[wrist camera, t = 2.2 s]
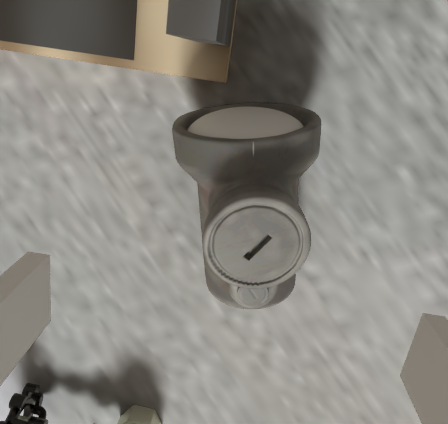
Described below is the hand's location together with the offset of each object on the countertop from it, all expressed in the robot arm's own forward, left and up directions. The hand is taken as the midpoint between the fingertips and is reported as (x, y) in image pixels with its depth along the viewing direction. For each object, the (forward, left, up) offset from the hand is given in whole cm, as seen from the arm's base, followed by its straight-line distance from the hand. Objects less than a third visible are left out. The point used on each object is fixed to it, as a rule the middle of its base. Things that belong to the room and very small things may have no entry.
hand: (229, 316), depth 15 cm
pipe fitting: (0, 0, -15) cm, 15 cm away
